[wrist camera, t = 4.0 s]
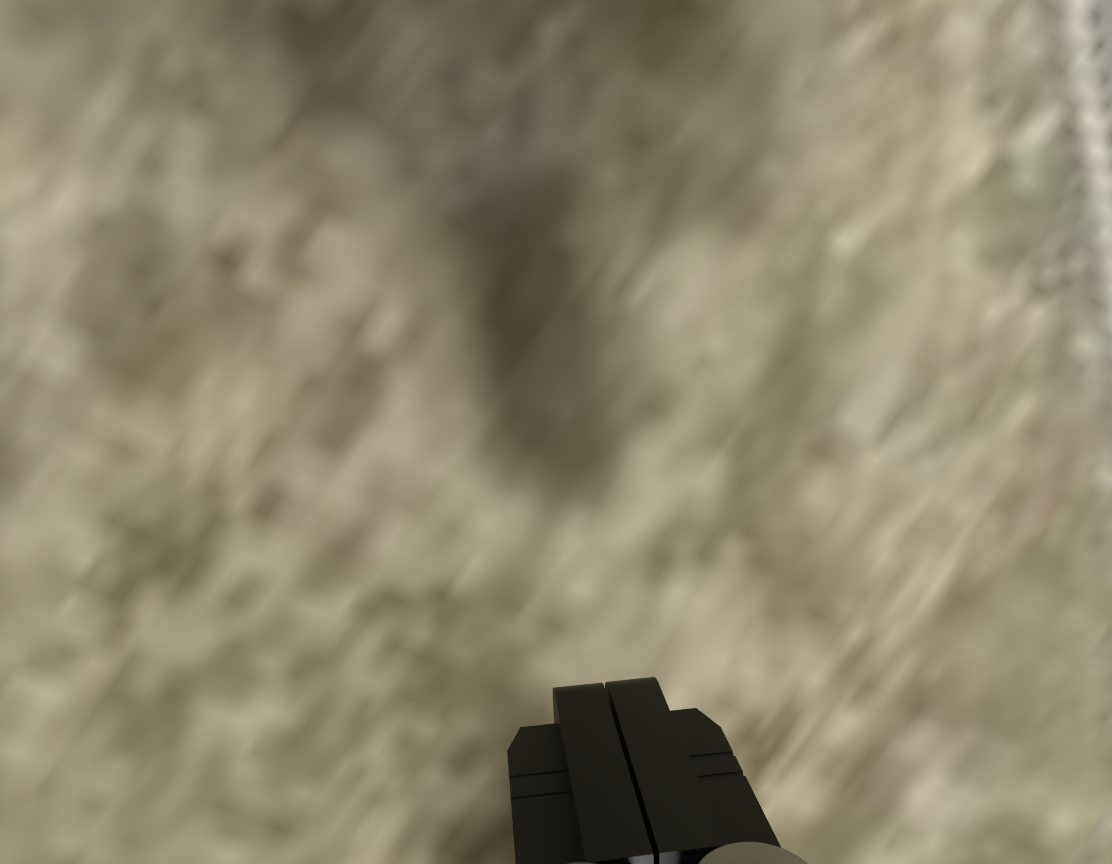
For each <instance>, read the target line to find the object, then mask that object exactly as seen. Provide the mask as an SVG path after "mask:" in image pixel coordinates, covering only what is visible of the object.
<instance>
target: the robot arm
mask: <svg viewBox="0 0 1112 864" xmlns="http://www.w3.org/2000/svg"><path fill="white" fill-rule="evenodd" d="M553 707H554V723H555V724H546V725H537V726H527V727H520V729H519V731H518V733H517V734H516V736H515V738H514V740H513V742H512V743H511V745H510V747H509V749H508V751H507V753H508V766H509V779H510V793H511V806H512V819H513V833H514V846H515V859H516V864H807V863H806V862H805V861H804V860H802V859H801V858H800V857H798V856H797V855H795V854H793V853H791V852H789V851H788V850H785V849H783V848H781V846H780V844H779V842H778V840H777V838H776V836H775V834H774V832H773V830H772V828H771V826H770V824H769V822H768V820H767V818H766V816H765V814H764V812H763V810H762V808H761V806H760V804H759V802H758V800H757V798H756V796H755V794H754V792H753V790H752V788H751V786H750V784H749V782H748V781H747V779H746V777H745V776H743V771H742V769H741V767H740V765H739V763H738V761H737V759H736V757H735V756H733V751H732V749H731V747H730V745H729V743H728V741H727V739H726V737H725V735H724V733H723V731H722V729H721V727H720V726H719V725H717V724H716V723H715V722H713V721H712V720H711V719H710V718H708V717H707V716H706V715H704V714H703V713H702V712H701V711H699V710H698V709H697V708H692V709H683V710H673V711H670V710H669V707H668V705H667V703H666V700H665V698H664V695H663V693H662V690H661V688H660V686H659V683H658V681H657V679H656V678H655V677H650V678H640V679H630V680H621V681H611V682H606V683H605V688H604V685H603V683H594V684H584V685H575V686H565V687H556V688H553Z"/></svg>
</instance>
